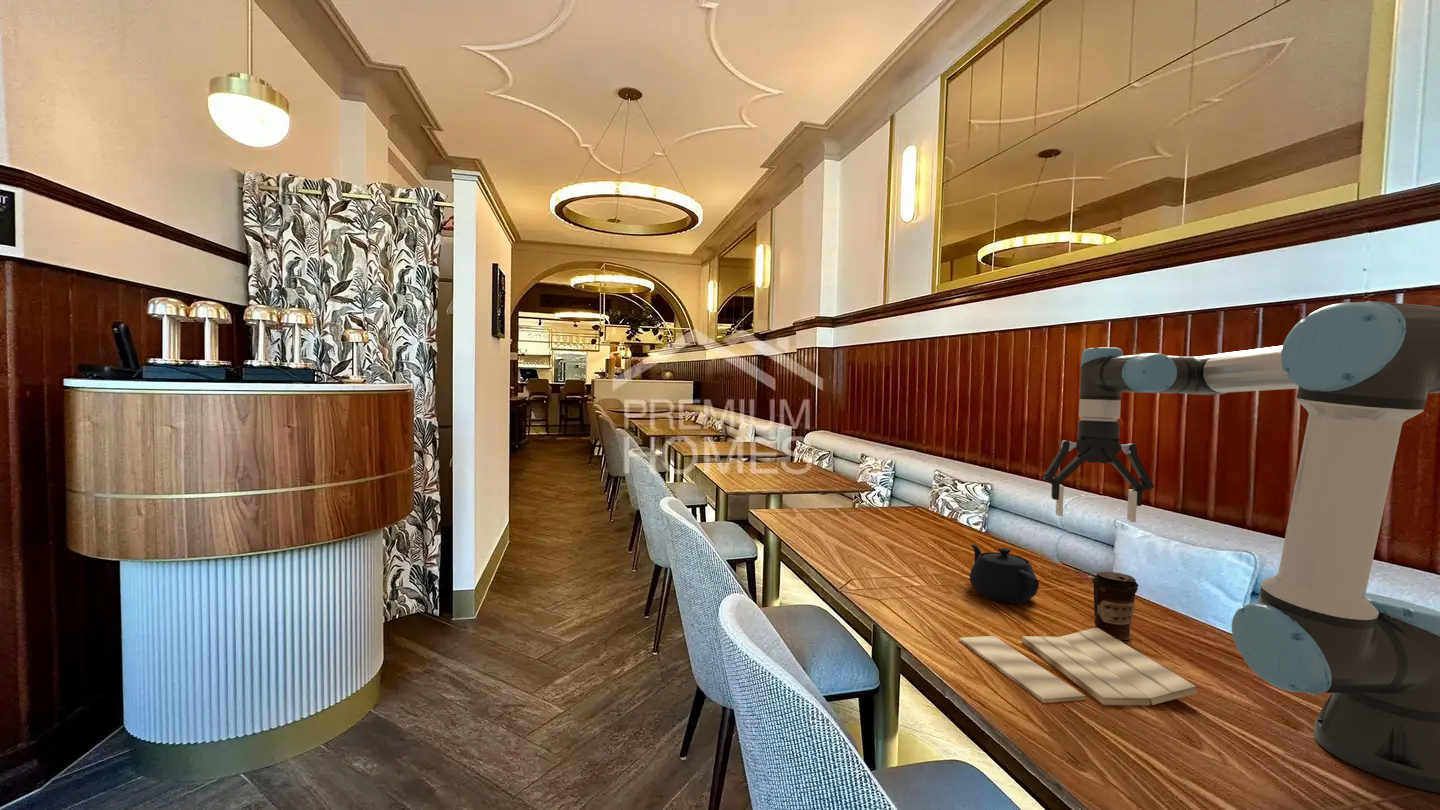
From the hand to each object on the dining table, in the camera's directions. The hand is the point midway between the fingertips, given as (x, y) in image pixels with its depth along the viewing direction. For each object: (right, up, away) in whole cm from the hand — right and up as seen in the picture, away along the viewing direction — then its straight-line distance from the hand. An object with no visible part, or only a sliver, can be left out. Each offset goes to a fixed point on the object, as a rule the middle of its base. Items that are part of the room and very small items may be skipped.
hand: (1094, 518), depth 126 cm
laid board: (-14, -25, -17) cm, 34 cm away
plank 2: (-6, -24, -17) cm, 30 cm away
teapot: (-9, -24, +23) cm, 35 cm away
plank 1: (-26, -25, -17) cm, 40 cm away
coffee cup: (+4, -25, 0) cm, 26 cm away
